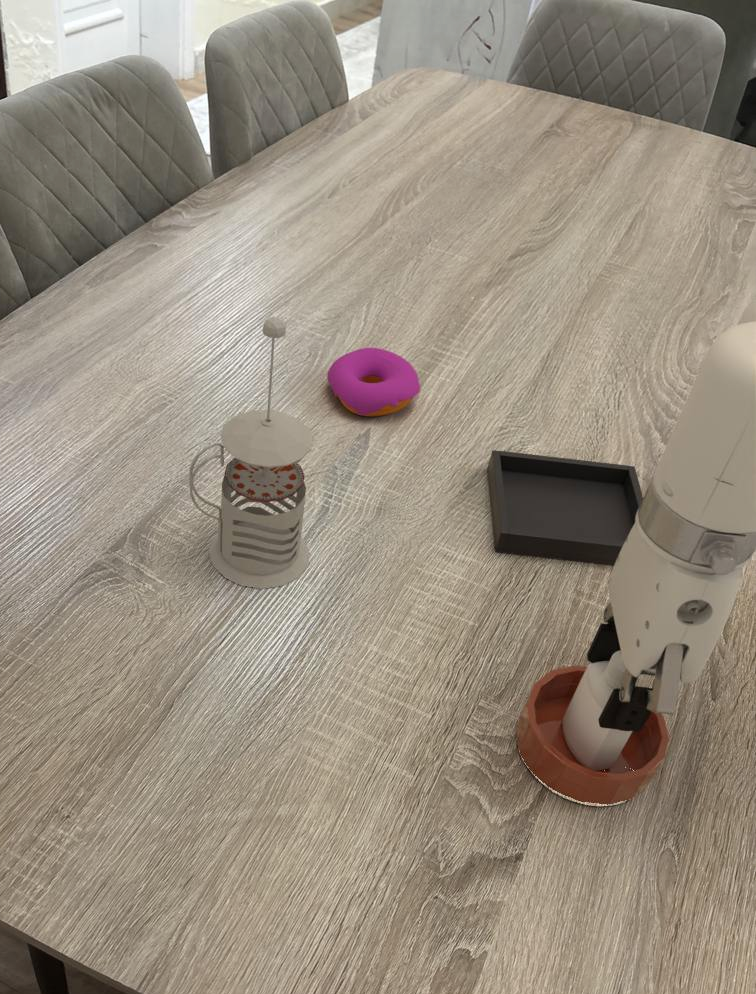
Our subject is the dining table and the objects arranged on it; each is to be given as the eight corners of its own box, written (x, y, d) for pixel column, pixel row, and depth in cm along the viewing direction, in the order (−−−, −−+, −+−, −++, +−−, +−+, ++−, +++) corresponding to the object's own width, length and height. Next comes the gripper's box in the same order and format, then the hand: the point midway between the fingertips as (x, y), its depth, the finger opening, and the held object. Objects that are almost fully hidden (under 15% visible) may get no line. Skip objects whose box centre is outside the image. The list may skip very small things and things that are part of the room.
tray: (626, 484, 104) (634, 466, 102) (649, 569, 94) (658, 550, 92) (486, 468, 104) (492, 449, 102) (495, 552, 94) (501, 532, 92)
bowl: (637, 703, 82) (654, 673, 79) (662, 815, 74) (681, 787, 71) (510, 688, 82) (522, 658, 79) (521, 799, 74) (534, 770, 71)
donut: (316, 378, 113) (320, 344, 110) (394, 370, 116) (400, 337, 113) (345, 428, 107) (350, 394, 103) (427, 418, 109) (434, 384, 106)
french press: (313, 589, 88) (344, 354, 70) (189, 588, 87) (187, 349, 69) (305, 519, 95) (331, 290, 77) (190, 518, 94) (188, 284, 76)
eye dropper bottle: (557, 764, 76) (602, 670, 67) (562, 712, 80) (605, 616, 71) (611, 779, 75) (664, 685, 67) (613, 725, 79) (664, 630, 71)
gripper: (799, 621, 54) (682, 793, 67) (727, 442, 66) (640, 618, 79) (669, 607, 54) (578, 782, 67) (621, 430, 66) (552, 608, 79)
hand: (612, 691), depth 73 cm, fingers closed on eye dropper bottle, 5 cm apart
